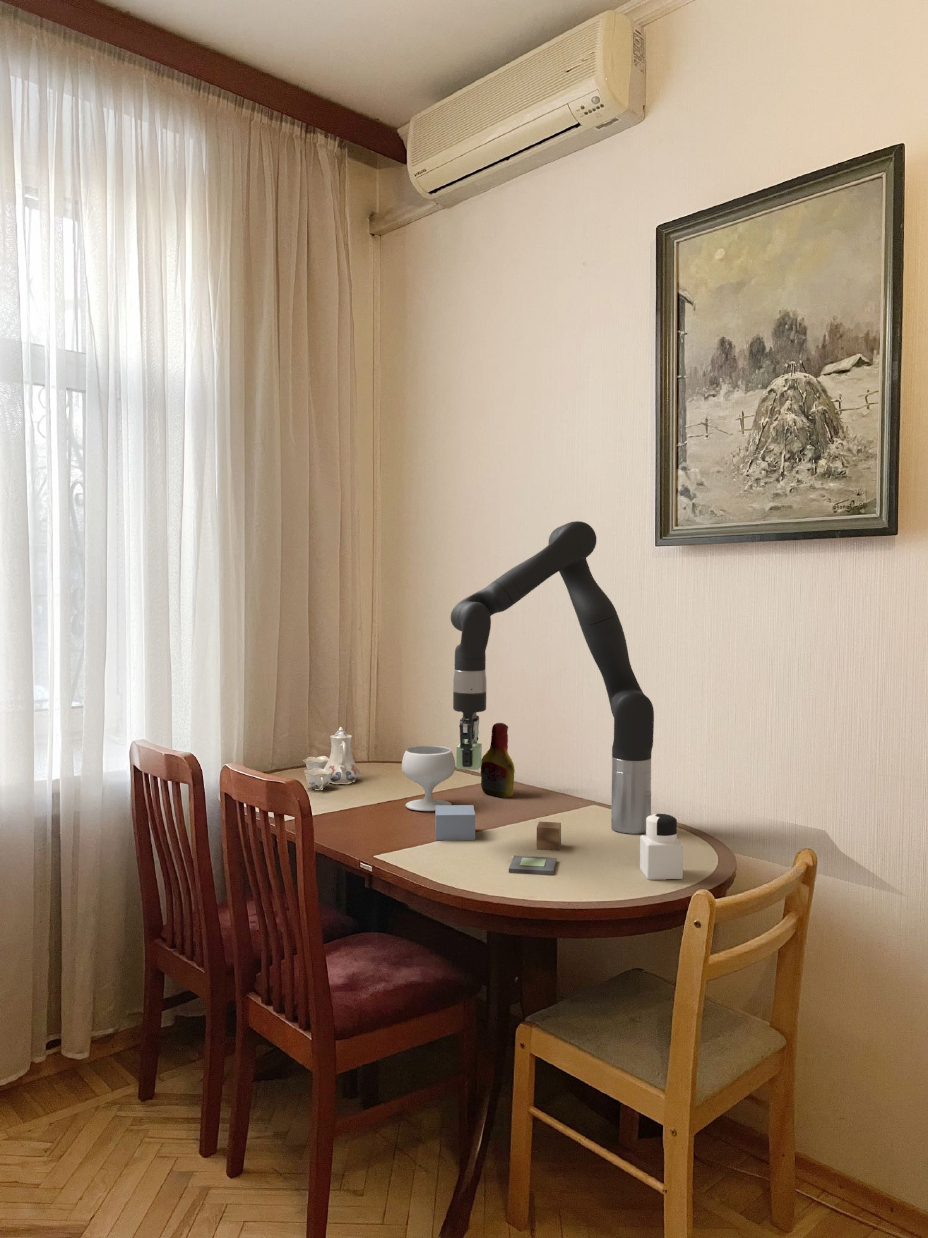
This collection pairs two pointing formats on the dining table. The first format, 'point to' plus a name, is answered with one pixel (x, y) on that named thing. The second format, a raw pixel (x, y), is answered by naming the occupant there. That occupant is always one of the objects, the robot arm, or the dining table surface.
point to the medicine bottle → (661, 849)
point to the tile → (532, 865)
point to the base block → (455, 822)
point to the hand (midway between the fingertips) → (469, 763)
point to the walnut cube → (549, 836)
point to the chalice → (428, 772)
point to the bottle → (498, 765)
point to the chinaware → (332, 763)
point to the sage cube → (475, 757)
